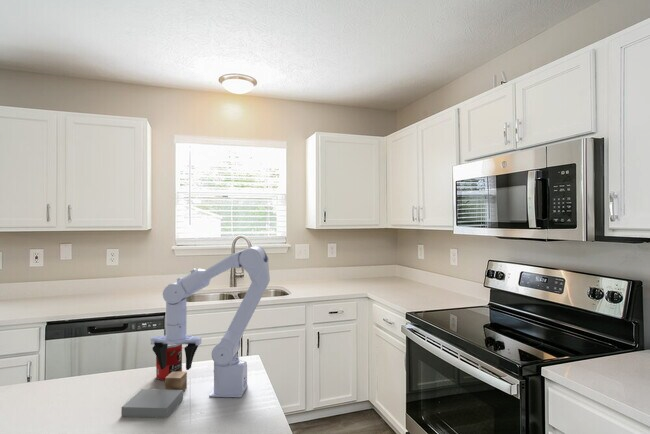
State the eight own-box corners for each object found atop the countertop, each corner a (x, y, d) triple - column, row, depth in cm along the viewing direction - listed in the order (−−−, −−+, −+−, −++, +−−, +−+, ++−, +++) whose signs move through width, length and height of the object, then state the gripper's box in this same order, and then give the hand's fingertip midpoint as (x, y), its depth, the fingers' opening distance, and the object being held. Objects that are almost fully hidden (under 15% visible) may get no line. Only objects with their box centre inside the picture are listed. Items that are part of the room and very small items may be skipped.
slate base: (183, 398, 106) (183, 389, 106) (166, 417, 96) (166, 407, 96) (141, 397, 106) (141, 389, 106) (121, 416, 96) (121, 407, 96)
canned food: (173, 381, 117) (173, 347, 117) (150, 379, 118) (150, 345, 118) (186, 372, 124) (186, 339, 124) (165, 370, 126) (165, 337, 126)
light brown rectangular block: (186, 388, 113) (186, 371, 113) (180, 395, 108) (180, 378, 108) (172, 387, 113) (172, 371, 113) (165, 394, 108) (165, 377, 108)
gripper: (145, 326, 107) (145, 373, 107) (195, 327, 106) (194, 374, 106) (157, 319, 114) (157, 363, 114) (204, 320, 113) (203, 364, 113)
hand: (176, 368), depth 111 cm, fingers open, 7 cm apart
